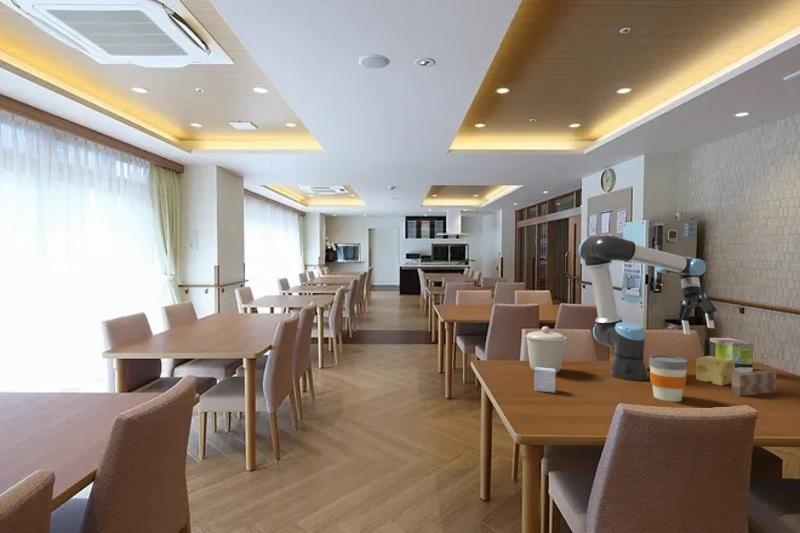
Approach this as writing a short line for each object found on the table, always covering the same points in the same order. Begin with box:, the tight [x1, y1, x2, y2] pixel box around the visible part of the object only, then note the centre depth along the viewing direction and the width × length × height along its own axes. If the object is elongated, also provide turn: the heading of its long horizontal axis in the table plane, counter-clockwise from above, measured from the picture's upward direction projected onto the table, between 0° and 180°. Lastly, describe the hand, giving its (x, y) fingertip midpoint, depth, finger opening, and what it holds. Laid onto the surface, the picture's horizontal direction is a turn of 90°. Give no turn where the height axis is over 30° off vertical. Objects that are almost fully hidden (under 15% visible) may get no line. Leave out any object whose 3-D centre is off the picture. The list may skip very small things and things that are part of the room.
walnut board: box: [731, 369, 777, 397], centre depth 166 cm, size 20×3×8 cm, turn 106°
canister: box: [525, 326, 567, 374], centre depth 196 cm, size 18×18×21 cm
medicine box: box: [534, 367, 557, 393], centre depth 167 cm, size 8×4×9 cm, turn 71°
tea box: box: [708, 337, 754, 373], centre depth 199 cm, size 15×10×15 cm, turn 179°
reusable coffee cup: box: [648, 354, 689, 403], centre depth 159 cm, size 12×13×15 cm
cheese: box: [695, 355, 735, 387], centre depth 182 cm, size 10×11×10 cm
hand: (698, 331), depth 194 cm, fingers open, 13 cm apart
